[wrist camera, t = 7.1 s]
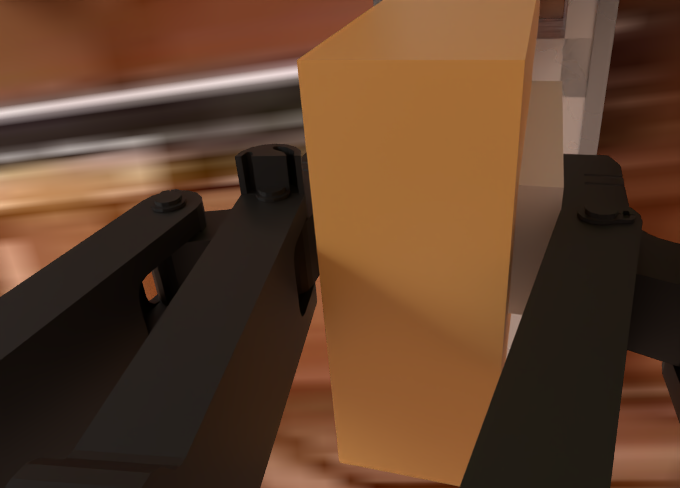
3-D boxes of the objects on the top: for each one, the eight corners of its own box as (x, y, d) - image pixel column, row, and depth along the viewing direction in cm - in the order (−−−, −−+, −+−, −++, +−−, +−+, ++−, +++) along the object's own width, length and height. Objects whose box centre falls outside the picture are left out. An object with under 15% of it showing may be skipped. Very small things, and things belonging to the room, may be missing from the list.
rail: (384, -466, 18) (350, -536, 15) (682, -542, 16) (712, -641, 13) (405, 328, 33) (389, 375, 30) (560, 347, 31) (560, 400, 28)
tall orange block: (438, -40, 18) (296, 60, 8) (544, -44, 17) (524, 59, 7) (436, 202, 22) (339, 462, 12) (522, 208, 21) (491, 492, 11)
